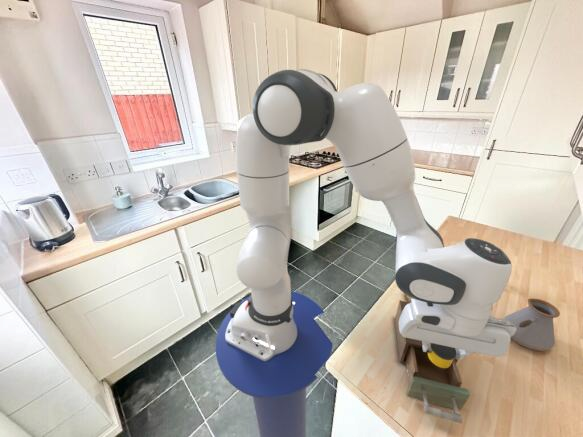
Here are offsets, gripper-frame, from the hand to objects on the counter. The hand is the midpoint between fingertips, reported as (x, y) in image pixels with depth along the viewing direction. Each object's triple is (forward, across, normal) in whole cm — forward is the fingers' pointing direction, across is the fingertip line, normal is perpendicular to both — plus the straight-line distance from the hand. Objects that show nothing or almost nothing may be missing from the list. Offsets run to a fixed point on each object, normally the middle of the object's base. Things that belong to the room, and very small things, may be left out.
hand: (440, 353), depth 56 cm
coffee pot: (+13, -27, -18) cm, 34 cm away
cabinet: (+12, 0, -11) cm, 17 cm away
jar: (+2, 0, 0) cm, 2 cm away
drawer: (+12, 0, +1) cm, 12 cm away
